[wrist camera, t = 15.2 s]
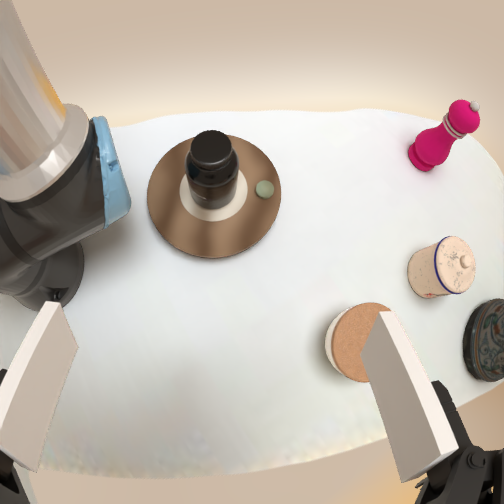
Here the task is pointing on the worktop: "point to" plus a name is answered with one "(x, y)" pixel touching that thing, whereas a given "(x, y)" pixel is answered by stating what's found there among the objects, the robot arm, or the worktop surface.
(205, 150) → the supplement bottle
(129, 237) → the worktop surface
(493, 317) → the beer stein
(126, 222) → the worktop surface
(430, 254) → the teacup with lid
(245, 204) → the stand
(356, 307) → the lidded jar
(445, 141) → the pepper mill
